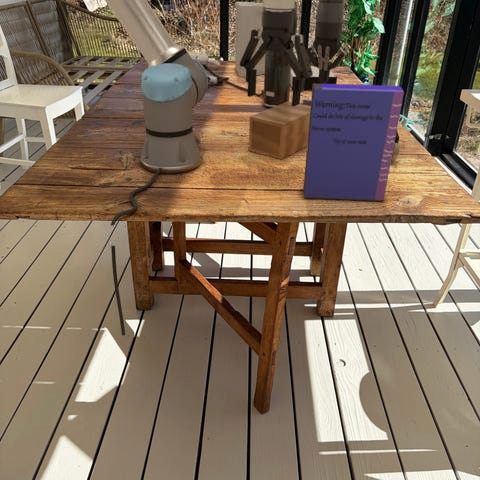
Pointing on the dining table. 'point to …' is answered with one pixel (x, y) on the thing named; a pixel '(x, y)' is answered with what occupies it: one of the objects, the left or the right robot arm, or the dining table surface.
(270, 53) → the right robot arm
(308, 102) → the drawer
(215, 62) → the toy
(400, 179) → the dining table surface
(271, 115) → the brown rectangular block
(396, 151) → the figurine character
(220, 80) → the figurine
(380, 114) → the purple hardcover book
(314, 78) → the disc drive
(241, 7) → the tall white box
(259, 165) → the dining table surface
